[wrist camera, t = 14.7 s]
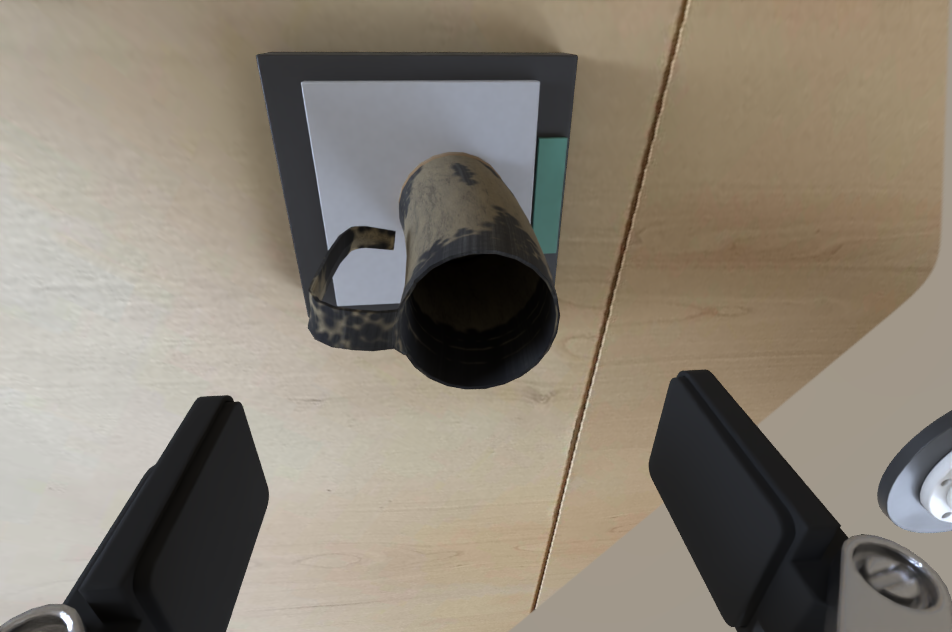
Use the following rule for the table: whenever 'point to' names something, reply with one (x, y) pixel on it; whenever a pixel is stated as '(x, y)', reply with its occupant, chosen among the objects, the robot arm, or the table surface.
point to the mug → (452, 280)
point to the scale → (408, 146)
